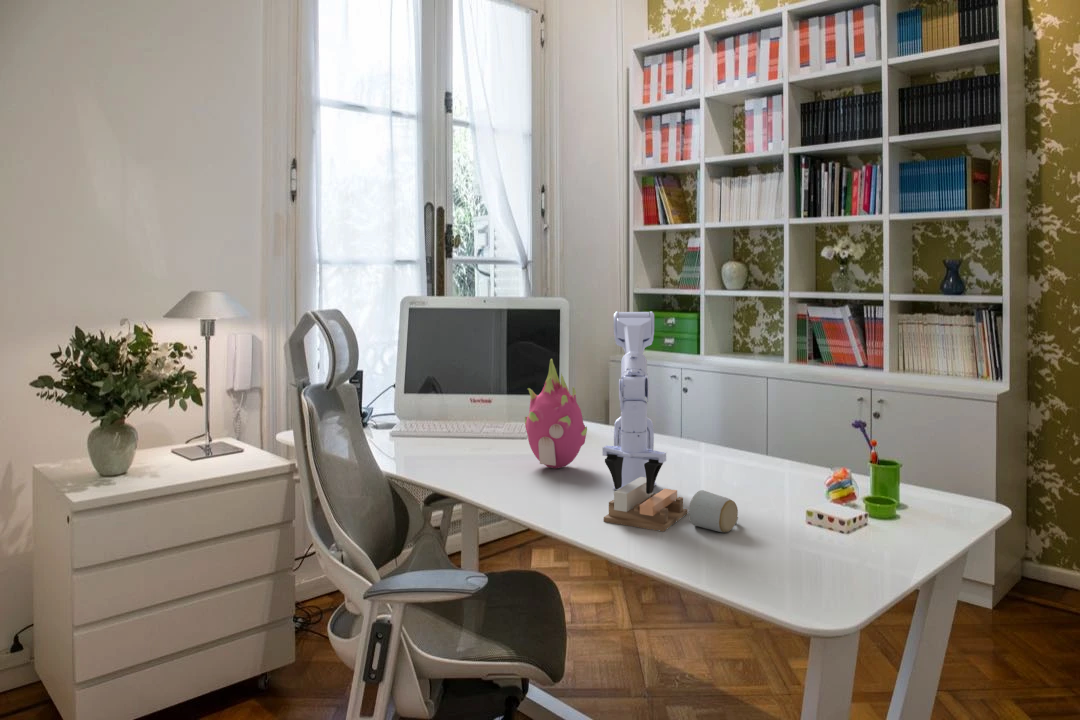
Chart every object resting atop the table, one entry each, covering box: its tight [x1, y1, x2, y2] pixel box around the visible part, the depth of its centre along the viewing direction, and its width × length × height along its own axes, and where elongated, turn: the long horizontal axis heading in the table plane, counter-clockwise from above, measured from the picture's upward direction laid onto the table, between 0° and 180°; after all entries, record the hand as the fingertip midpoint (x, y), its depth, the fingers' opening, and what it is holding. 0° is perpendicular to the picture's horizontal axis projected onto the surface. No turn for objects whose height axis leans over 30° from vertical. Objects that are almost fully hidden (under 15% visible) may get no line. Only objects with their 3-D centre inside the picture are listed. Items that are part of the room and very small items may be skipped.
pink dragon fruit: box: [524, 358, 588, 469], centre depth 221 cm, size 18×14×30 cm
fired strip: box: [640, 488, 678, 516], centre depth 178 cm, size 14×3×2 cm, turn 149°
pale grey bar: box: [613, 477, 653, 512], centre depth 180 cm, size 14×3×4 cm, turn 149°
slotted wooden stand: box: [603, 493, 689, 532], centre depth 179 cm, size 14×14×4 cm
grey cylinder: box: [688, 489, 739, 533], centre depth 172 cm, size 11×8×8 cm
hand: (633, 490), depth 180 cm, fingers open, 7 cm apart
